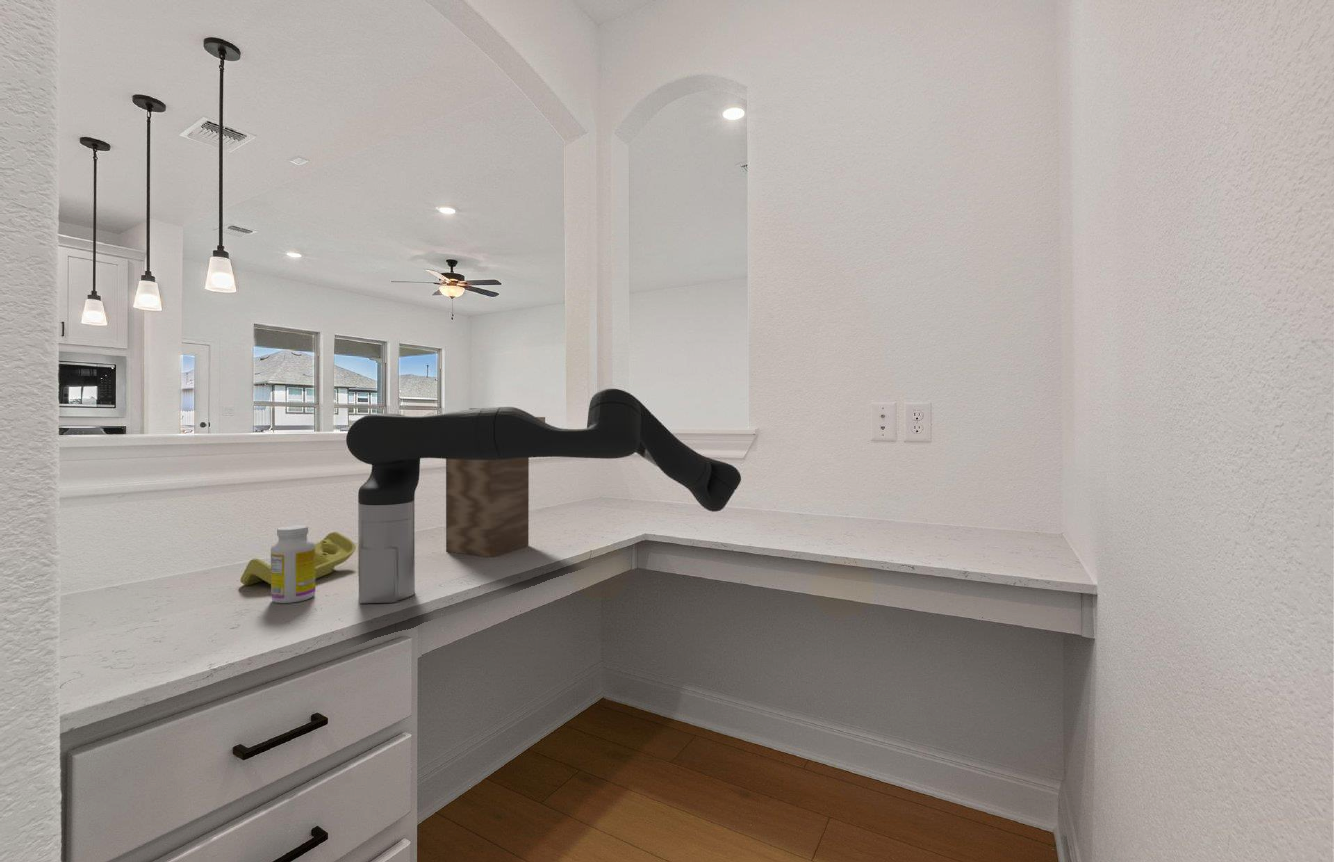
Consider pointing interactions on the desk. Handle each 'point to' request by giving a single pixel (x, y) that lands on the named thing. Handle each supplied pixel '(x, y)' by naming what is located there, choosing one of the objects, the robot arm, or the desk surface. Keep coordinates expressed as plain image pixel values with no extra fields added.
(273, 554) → the supplement bottle
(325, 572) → the plastic component
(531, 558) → the desk surface
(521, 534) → the pedestal
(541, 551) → the desk surface
